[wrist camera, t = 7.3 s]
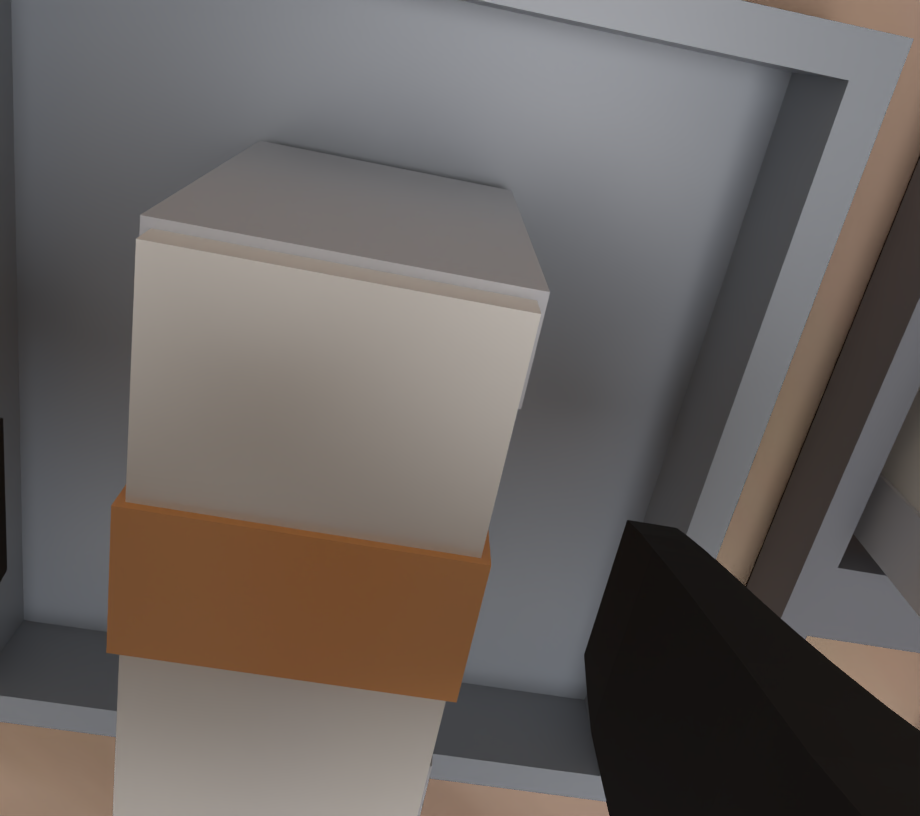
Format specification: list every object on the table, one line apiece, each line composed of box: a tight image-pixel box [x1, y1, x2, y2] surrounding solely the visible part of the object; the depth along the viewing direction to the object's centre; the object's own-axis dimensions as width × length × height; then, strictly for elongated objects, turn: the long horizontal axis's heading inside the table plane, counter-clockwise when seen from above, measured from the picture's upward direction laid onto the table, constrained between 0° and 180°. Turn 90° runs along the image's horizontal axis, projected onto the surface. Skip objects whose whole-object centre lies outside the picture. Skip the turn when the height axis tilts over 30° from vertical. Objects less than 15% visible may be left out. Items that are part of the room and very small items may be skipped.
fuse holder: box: [747, 159, 920, 653], centre depth 18 cm, size 6×28×2 cm, turn 169°
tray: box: [0, 0, 913, 802], centre depth 14 cm, size 12×13×2 cm
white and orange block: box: [106, 141, 550, 816], centre depth 11 cm, size 4×7×6 cm, turn 169°
